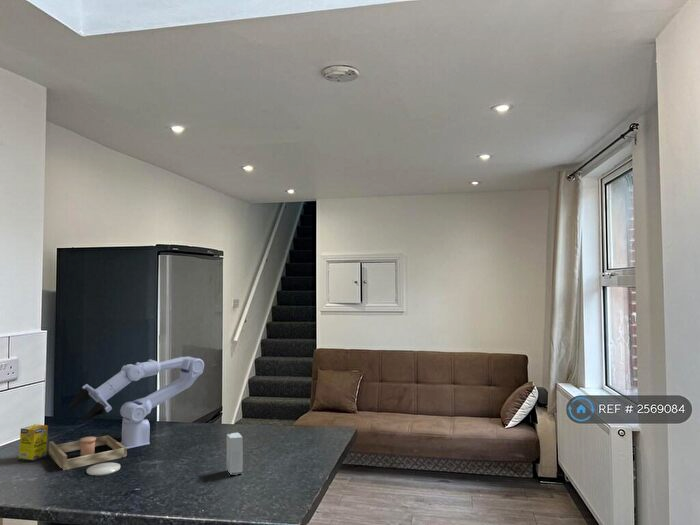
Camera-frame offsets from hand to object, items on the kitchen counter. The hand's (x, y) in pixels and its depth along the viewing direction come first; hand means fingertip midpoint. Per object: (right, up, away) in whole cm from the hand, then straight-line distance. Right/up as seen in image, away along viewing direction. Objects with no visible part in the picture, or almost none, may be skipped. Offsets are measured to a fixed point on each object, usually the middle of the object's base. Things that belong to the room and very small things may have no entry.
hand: (75, 413), depth 172 cm
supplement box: (-14, -15, -2) cm, 20 cm away
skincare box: (+59, -16, -12) cm, 62 cm away
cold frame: (+3, -15, +1) cm, 16 cm away
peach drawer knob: (+3, -15, +1) cm, 16 cm away
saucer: (+16, -15, -12) cm, 25 cm away
